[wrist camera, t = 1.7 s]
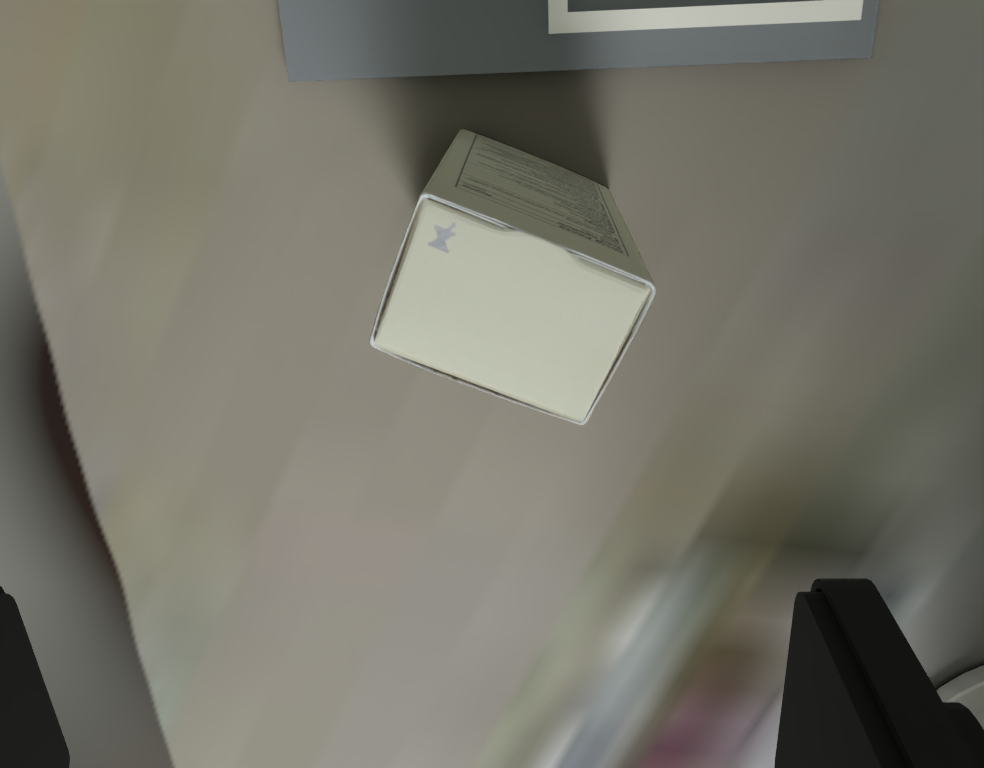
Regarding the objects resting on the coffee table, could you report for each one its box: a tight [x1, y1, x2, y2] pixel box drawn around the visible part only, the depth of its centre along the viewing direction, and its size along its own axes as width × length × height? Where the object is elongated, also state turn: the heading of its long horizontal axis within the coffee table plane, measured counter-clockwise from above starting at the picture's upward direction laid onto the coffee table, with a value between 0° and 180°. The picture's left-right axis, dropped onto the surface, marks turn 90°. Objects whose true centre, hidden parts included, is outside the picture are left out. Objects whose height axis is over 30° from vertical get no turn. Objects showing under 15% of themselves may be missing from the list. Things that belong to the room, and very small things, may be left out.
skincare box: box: [369, 129, 656, 425], centre depth 25 cm, size 6×4×12 cm
